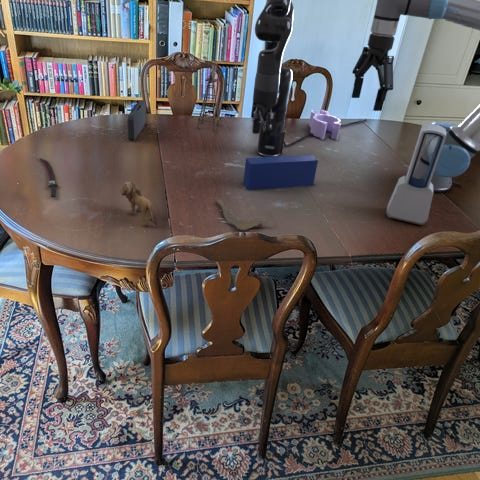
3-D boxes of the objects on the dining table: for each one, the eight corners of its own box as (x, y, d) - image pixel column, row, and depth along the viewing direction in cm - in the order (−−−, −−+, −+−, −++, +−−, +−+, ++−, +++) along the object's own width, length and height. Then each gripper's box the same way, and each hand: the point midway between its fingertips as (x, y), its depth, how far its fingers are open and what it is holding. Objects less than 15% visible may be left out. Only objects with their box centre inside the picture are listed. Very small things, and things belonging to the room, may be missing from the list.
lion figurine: (118, 210, 138) (116, 182, 133) (132, 204, 141) (131, 177, 137) (151, 229, 130) (150, 201, 126) (165, 223, 134) (165, 195, 129)
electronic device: (425, 217, 152) (456, 128, 136) (425, 227, 146) (458, 136, 130) (386, 208, 155) (413, 120, 139) (385, 218, 149) (412, 127, 133)
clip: (302, 123, 220) (305, 109, 217) (327, 124, 223) (330, 110, 219) (316, 139, 204) (319, 124, 200) (342, 140, 207) (346, 124, 203)
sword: (61, 197, 141) (61, 193, 140) (50, 198, 139) (50, 194, 139) (49, 160, 164) (48, 156, 163) (39, 160, 163) (39, 157, 162)
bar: (247, 190, 157) (250, 163, 152) (243, 183, 161) (245, 157, 156) (313, 185, 165) (318, 160, 160) (307, 179, 169) (311, 154, 164)
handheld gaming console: (139, 121, 202) (139, 98, 197) (146, 122, 202) (145, 99, 197) (127, 140, 183) (126, 115, 178) (134, 141, 183) (133, 116, 178)
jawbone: (250, 238, 132) (250, 232, 131) (198, 212, 143) (198, 206, 141) (269, 225, 138) (269, 219, 137) (218, 201, 148) (218, 195, 147)
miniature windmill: (214, 131, 201) (219, 58, 184) (195, 128, 202) (199, 55, 185) (219, 124, 208) (224, 54, 192) (201, 122, 209) (205, 51, 193)
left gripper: (286, 94, 138) (279, 146, 146) (269, 81, 149) (263, 130, 158) (263, 94, 135) (257, 146, 144) (247, 80, 146) (242, 130, 155)
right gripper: (417, 43, 134) (397, 116, 145) (371, 27, 153) (356, 92, 164) (396, 42, 131) (377, 116, 143) (351, 26, 151) (337, 92, 162)
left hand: (260, 138), depth 151 cm, fingers open, 8 cm apart
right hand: (365, 103), depth 154 cm, fingers open, 13 cm apart
